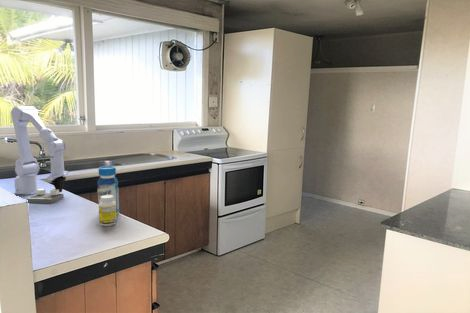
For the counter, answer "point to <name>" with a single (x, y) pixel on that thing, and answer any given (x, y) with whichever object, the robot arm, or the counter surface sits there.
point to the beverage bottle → (108, 184)
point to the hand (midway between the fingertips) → (59, 192)
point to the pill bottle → (107, 210)
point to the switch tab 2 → (54, 192)
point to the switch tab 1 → (40, 191)
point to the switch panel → (45, 198)
